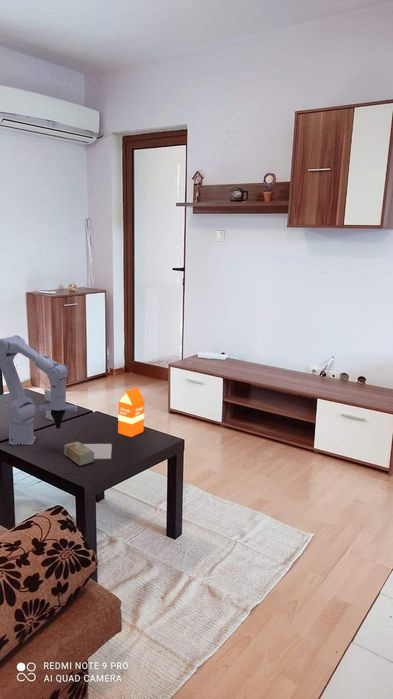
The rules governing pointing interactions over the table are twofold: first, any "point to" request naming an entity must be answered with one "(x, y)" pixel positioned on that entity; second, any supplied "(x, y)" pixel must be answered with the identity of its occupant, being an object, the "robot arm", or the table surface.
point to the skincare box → (79, 453)
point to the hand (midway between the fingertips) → (58, 427)
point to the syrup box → (48, 401)
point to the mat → (100, 450)
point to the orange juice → (131, 413)
